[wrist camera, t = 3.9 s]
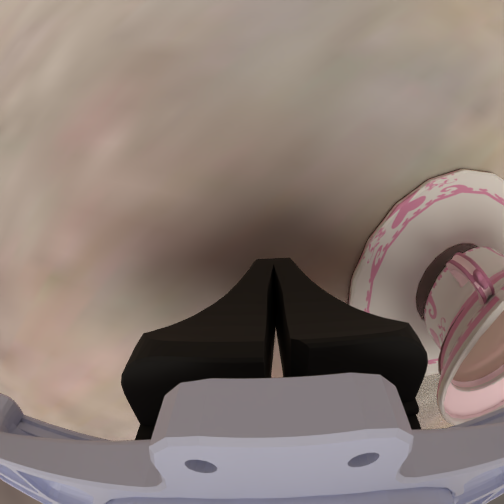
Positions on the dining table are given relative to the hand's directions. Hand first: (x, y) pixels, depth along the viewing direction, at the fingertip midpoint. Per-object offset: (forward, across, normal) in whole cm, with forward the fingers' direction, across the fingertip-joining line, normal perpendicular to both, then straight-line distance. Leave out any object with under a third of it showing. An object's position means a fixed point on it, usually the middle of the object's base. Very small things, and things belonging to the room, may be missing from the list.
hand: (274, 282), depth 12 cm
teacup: (+2, -9, +2) cm, 10 cm away
